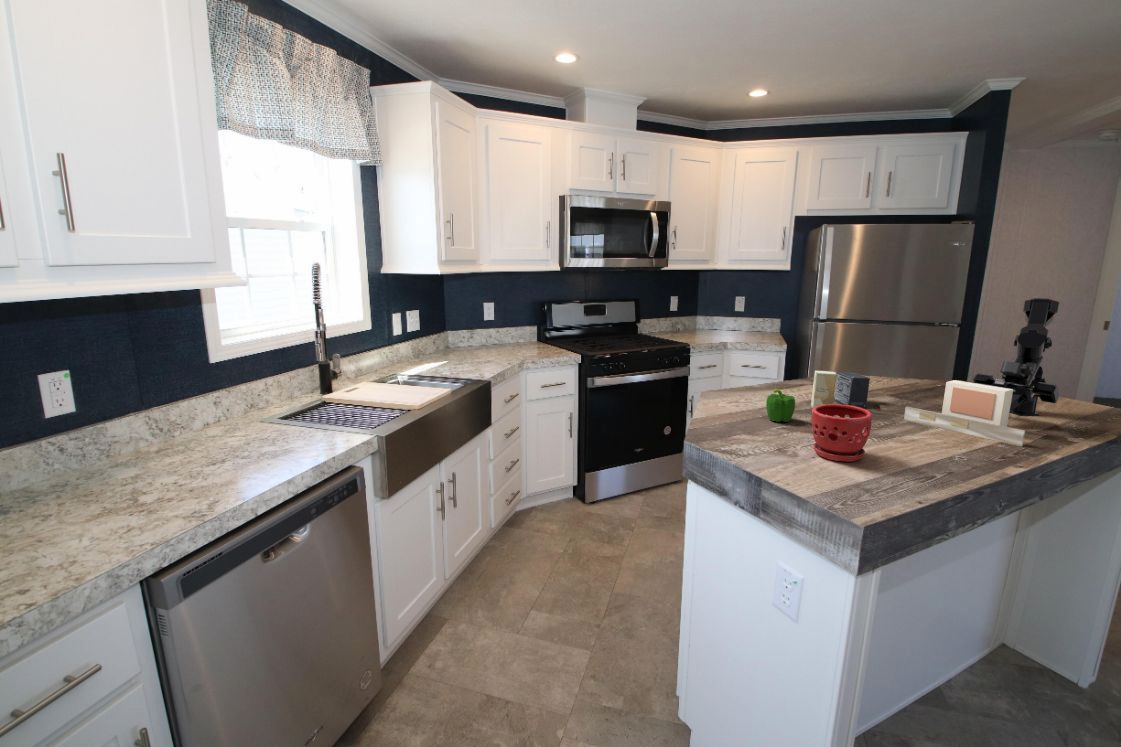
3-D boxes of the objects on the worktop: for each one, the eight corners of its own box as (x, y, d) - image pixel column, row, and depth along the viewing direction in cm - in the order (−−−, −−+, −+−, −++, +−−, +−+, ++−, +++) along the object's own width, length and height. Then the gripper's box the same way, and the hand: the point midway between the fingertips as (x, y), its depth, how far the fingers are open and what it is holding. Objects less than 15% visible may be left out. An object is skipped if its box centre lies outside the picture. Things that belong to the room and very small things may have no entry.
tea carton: (952, 417, 159) (958, 379, 157) (1009, 430, 147) (1017, 388, 145) (936, 423, 154) (942, 383, 152) (993, 435, 142) (1001, 392, 140)
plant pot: (815, 443, 142) (819, 400, 139) (871, 454, 134) (876, 408, 131) (801, 457, 132) (805, 411, 130) (860, 469, 124) (866, 420, 121)
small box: (867, 408, 177) (871, 377, 175) (848, 408, 177) (851, 377, 175) (851, 400, 187) (854, 371, 185) (832, 400, 187) (835, 371, 185)
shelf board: (932, 415, 167) (934, 398, 166) (1046, 439, 144) (1049, 420, 143) (903, 424, 158) (905, 407, 157) (1020, 452, 135) (1023, 431, 134)
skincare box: (812, 408, 176) (815, 372, 174) (810, 405, 180) (813, 370, 178) (833, 409, 175) (837, 373, 172) (831, 406, 179) (834, 371, 176)
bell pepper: (788, 417, 167) (791, 386, 165) (797, 424, 159) (800, 392, 157) (761, 416, 168) (763, 385, 166) (768, 424, 160) (771, 391, 158)
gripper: (980, 346, 157) (958, 387, 154) (1063, 355, 142) (1040, 401, 139) (988, 369, 163) (966, 409, 160) (1068, 380, 148) (1046, 425, 144)
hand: (1002, 410), depth 151 cm, fingers closed
